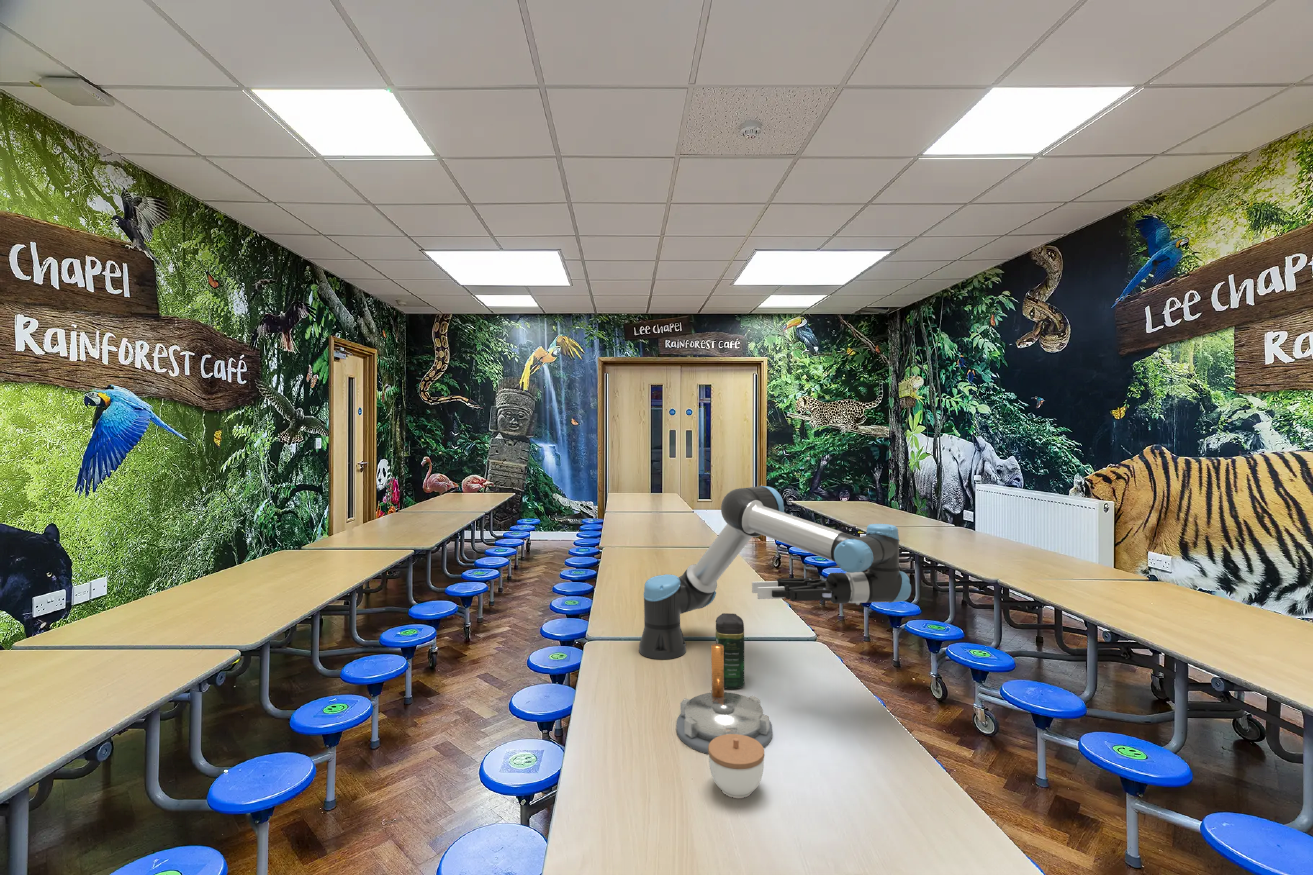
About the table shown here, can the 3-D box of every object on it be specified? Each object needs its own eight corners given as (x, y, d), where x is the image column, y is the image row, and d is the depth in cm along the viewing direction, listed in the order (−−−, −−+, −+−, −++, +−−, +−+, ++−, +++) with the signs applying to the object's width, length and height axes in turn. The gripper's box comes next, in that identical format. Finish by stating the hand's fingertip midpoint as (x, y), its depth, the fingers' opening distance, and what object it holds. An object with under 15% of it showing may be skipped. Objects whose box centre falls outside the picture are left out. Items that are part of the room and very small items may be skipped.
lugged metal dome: (777, 744, 119) (776, 673, 119) (687, 748, 117) (687, 677, 118) (753, 700, 139) (753, 640, 140) (677, 703, 138) (677, 642, 138)
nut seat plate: (657, 726, 130) (657, 719, 130) (723, 699, 144) (723, 693, 144) (724, 768, 113) (724, 760, 113) (792, 733, 127) (792, 725, 127)
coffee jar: (746, 690, 149) (745, 621, 149) (716, 690, 149) (716, 621, 150) (742, 675, 159) (742, 610, 159) (715, 675, 159) (714, 610, 160)
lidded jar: (726, 812, 99) (726, 759, 99) (698, 780, 109) (698, 732, 109) (776, 797, 104) (775, 746, 104) (745, 767, 113) (744, 721, 114)
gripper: (862, 613, 130) (764, 616, 129) (832, 593, 148) (747, 595, 147) (861, 581, 130) (764, 583, 129) (832, 565, 148) (746, 567, 147)
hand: (755, 590), depth 138 cm, fingers open, 5 cm apart
